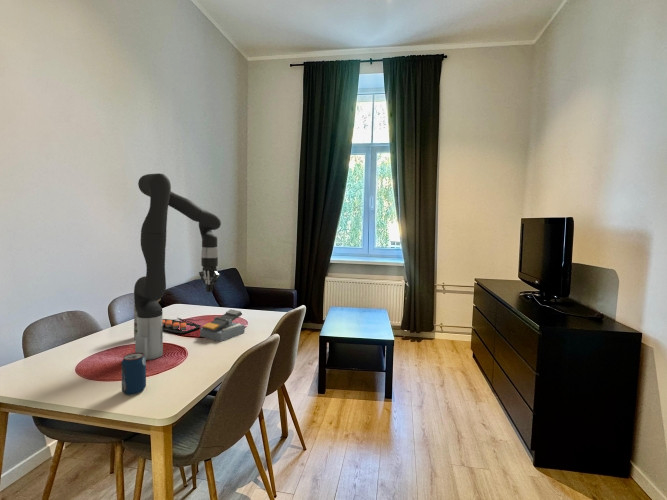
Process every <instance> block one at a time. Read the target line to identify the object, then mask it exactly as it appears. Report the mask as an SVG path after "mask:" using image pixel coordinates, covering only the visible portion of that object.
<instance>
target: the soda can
mask: <svg viewBox="0 0 667 500" xmlns="http://www.w3.org/2000/svg"><path fill="white" fill-rule="evenodd" d="M146 361H147V360H146V359H145V357H144V354H143V353H135V352H131V353H128V354H125V355H124V356H123V358H122V361H121V368H120V369H121V391H122V392H123V393H124V395H126V396H134V395H138V394H141V393H142V392H144V390H145V388H146V387H147V362H146Z"/></svg>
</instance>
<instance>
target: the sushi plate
mask: <svg viewBox="0 0 667 500" xmlns="http://www.w3.org/2000/svg"><path fill="white" fill-rule="evenodd" d="M162 319H163V332H164V331H165V332H170V333H175V334H186V333H189V332H192V331H195V330H197V329H200V328H202V325H201V324H196V323H195V322H192V321H194V320H193V319H194V318H192V319H190V318H188V319H186V318H185V319H183V318H180V317H177V319H171V318H170V319H169V318H162ZM183 320H185V321H183ZM186 321H187V322H186ZM179 324H180V330H179V329H178V328H179ZM186 325H190V326H195V327H196V328H194V329H191V330H188V331H182V330H186Z"/></svg>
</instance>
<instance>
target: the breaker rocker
mask: <svg viewBox="0 0 667 500" xmlns="http://www.w3.org/2000/svg"><path fill="white" fill-rule="evenodd" d="M241 316H243V313H242V311H241V310H235V309H228V310H227V311H225V313H224V314H222V315H220V316H218V318H216V319H215V320H214V319H213V320H212V321H211V322H207V323H205V324H204V325H202V326H201V328H203V330H206V331H211V332H216V331H218V330H219V329H221V328H222V327H224V326H225V325H227V324H228V320H230V319H231V320H232V322H234V321H235V320H236V319H238V318H239V317H241Z"/></svg>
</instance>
